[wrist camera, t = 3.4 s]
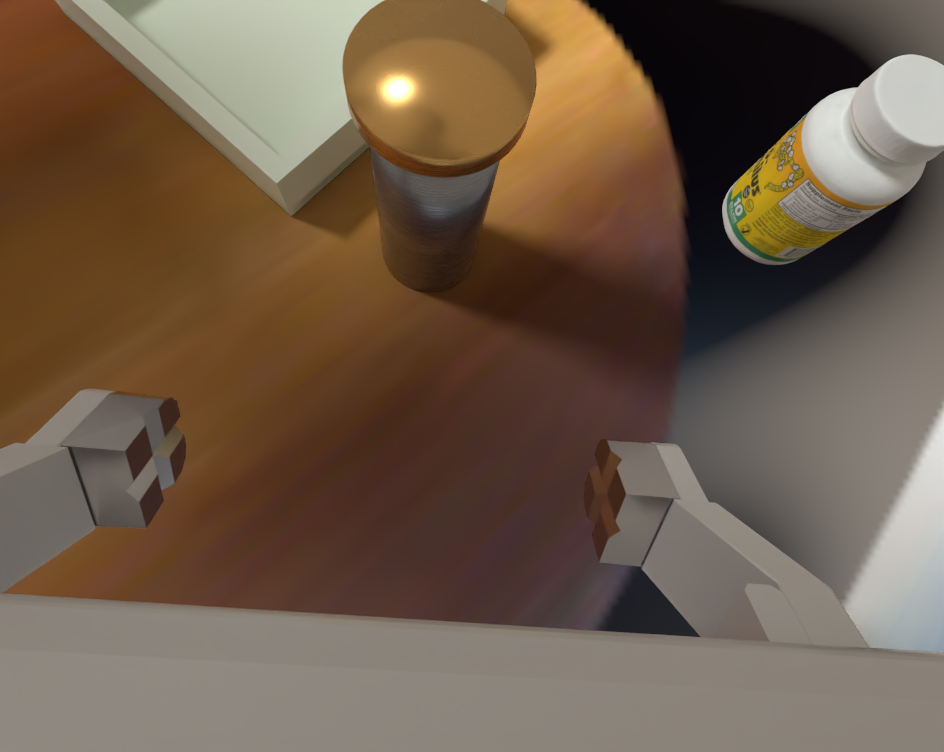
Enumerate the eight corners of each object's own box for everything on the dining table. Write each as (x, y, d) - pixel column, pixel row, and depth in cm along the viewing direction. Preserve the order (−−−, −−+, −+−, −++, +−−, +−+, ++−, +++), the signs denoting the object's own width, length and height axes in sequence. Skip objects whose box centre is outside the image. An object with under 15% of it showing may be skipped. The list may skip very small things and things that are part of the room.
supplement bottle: (784, 286, 29) (959, 191, 20) (700, 230, 29) (834, 109, 20) (826, 213, 30) (1009, 90, 21) (745, 159, 31) (892, 14, 21)
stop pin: (348, 249, 27) (300, 66, 15) (425, 177, 28) (435, -43, 17) (432, 324, 27) (447, 195, 15) (506, 248, 28) (574, 74, 16)
